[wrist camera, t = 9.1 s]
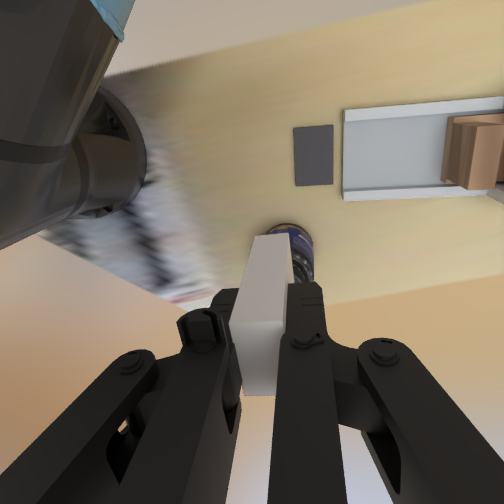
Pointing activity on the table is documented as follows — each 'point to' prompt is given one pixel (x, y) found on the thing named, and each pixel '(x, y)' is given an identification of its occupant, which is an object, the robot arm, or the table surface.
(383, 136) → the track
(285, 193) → the table surface
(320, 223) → the table surface
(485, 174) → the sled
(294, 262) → the pill bottle
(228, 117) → the table surface
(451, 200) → the table surface
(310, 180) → the dark grey flat block
